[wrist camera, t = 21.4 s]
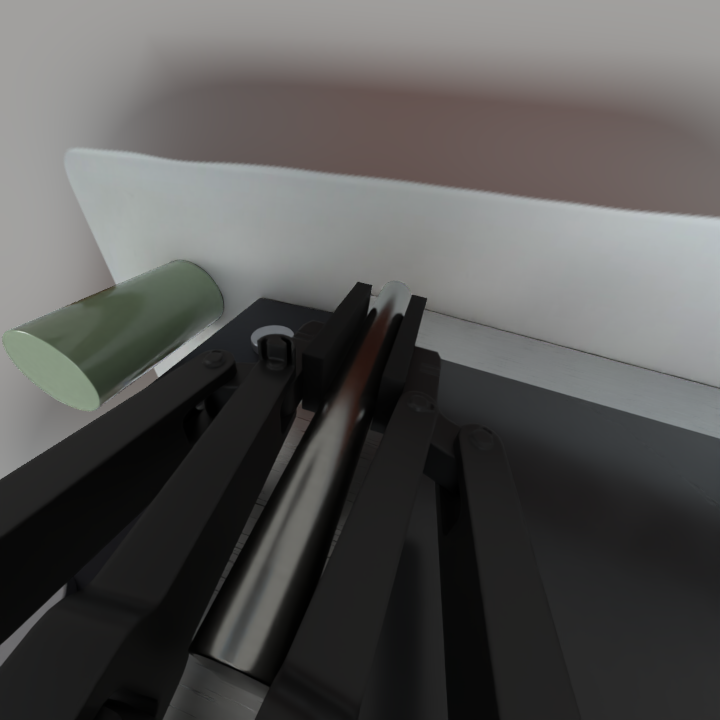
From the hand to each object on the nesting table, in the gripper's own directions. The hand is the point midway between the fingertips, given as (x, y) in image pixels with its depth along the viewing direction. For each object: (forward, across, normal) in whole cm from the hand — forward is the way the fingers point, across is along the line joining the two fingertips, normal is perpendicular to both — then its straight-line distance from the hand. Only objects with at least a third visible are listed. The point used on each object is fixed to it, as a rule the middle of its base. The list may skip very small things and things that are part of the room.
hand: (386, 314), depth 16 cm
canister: (+10, -22, -8) cm, 25 cm away
